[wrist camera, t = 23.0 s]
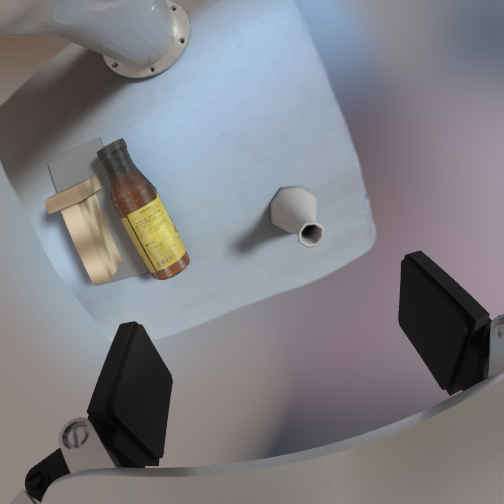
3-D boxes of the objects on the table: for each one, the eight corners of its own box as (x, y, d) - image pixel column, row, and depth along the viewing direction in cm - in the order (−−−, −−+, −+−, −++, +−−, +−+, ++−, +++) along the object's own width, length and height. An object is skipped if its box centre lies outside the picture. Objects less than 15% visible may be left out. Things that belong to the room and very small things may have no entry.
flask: (263, 226, 44) (273, 257, 35) (276, 179, 41) (290, 198, 32) (309, 236, 45) (329, 267, 36) (323, 191, 42) (348, 213, 33)
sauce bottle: (198, 255, 44) (143, 128, 35) (178, 281, 39) (112, 139, 30) (165, 260, 46) (111, 145, 38) (144, 284, 41) (81, 158, 33)
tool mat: (49, 162, 36) (47, 162, 36) (100, 137, 36) (99, 137, 36) (98, 283, 46) (97, 285, 45) (148, 271, 46) (148, 272, 45)
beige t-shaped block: (67, 187, 38) (43, 200, 32) (98, 174, 38) (77, 185, 32) (99, 267, 44) (83, 290, 38) (130, 259, 44) (116, 282, 38)
